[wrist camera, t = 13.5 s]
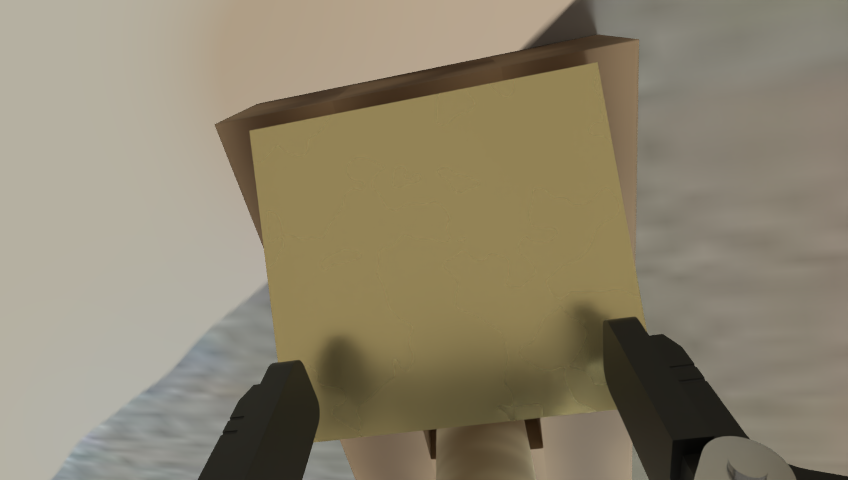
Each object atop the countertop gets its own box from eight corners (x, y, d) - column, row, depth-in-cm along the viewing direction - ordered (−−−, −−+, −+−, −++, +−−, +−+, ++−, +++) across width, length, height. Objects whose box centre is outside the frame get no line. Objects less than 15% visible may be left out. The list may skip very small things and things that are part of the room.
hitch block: (597, 34, 17) (638, 39, 14) (606, 430, 27) (631, 494, 23) (257, 103, 19) (214, 124, 15) (379, 454, 28) (370, 517, 25)
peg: (506, 322, 23) (560, 581, 13) (514, 378, 25) (566, 648, 15) (431, 331, 24) (422, 589, 13) (444, 386, 26) (445, 653, 15)
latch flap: (590, 73, 14) (597, 62, 13) (649, 396, 13) (660, 405, 12) (261, 137, 15) (249, 130, 14) (298, 435, 15) (288, 445, 14)
